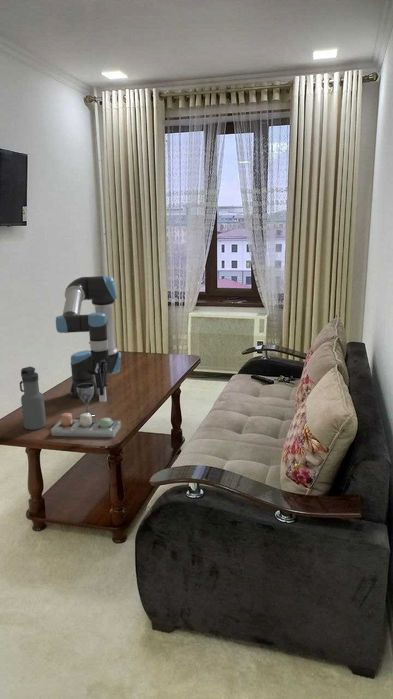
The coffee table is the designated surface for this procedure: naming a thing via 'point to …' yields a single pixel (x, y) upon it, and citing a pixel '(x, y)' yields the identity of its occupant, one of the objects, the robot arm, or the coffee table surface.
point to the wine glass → (86, 394)
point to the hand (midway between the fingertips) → (103, 401)
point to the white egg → (86, 420)
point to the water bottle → (32, 400)
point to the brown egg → (66, 420)
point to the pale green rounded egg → (105, 423)
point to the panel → (86, 429)
